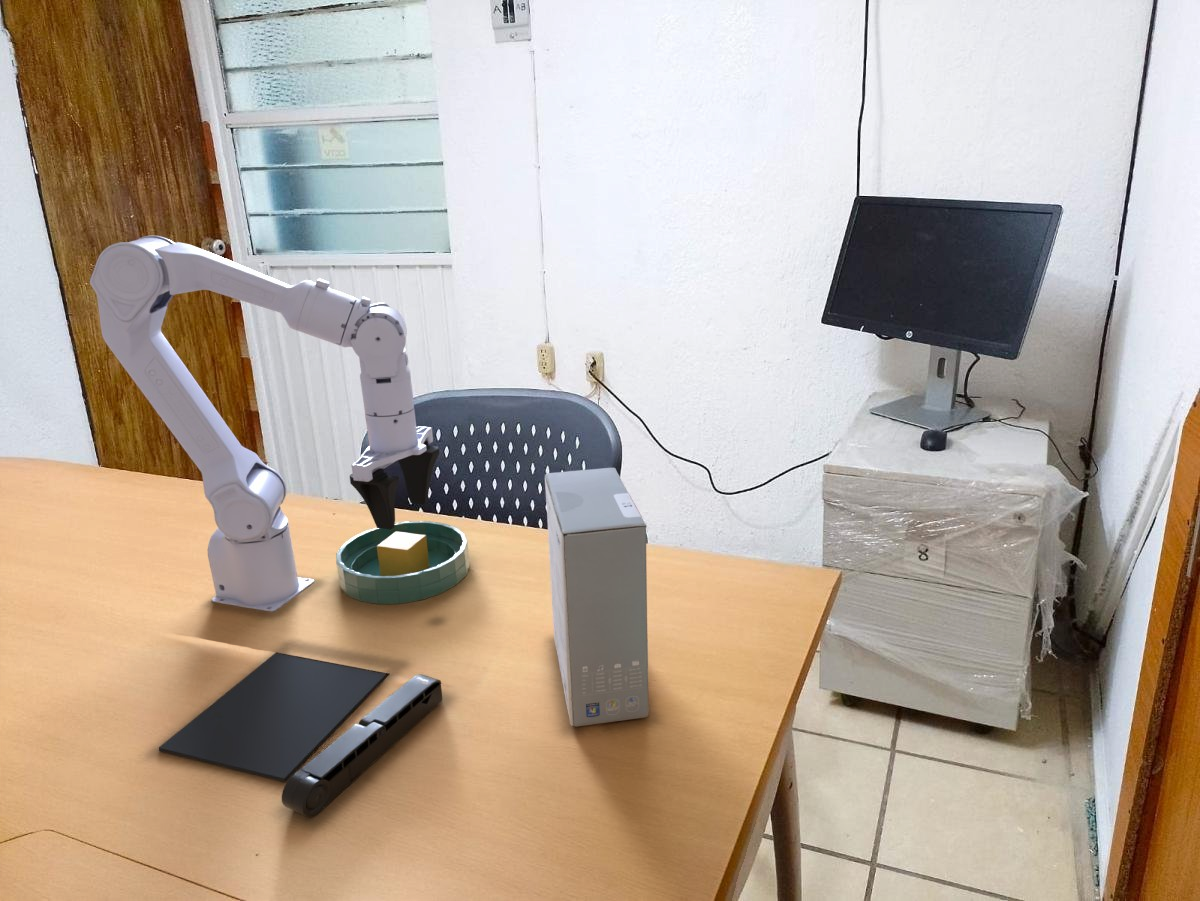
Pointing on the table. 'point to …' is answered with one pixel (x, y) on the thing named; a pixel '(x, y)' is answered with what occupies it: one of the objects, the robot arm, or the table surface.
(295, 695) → the mat
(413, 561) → the block
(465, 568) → the bowl
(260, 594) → the robot arm
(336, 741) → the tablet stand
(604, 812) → the table surface
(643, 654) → the hard drive box
